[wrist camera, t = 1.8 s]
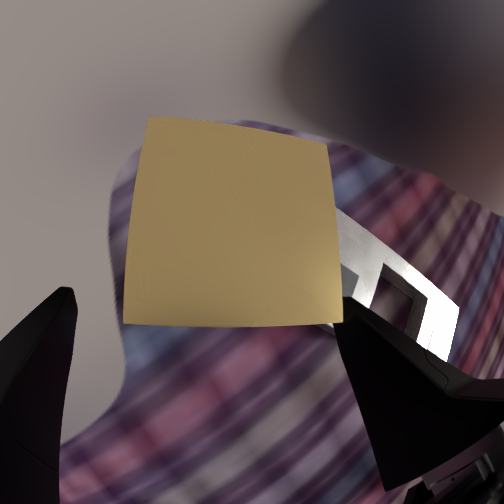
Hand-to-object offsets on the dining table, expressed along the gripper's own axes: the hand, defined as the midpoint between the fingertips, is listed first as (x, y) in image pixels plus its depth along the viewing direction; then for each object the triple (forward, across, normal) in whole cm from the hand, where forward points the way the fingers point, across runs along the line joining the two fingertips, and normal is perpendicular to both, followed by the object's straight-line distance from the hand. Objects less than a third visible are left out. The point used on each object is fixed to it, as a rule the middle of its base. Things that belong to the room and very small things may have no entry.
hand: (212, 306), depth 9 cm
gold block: (+8, 0, +6) cm, 10 cm away
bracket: (+6, -16, +7) cm, 19 cm away
